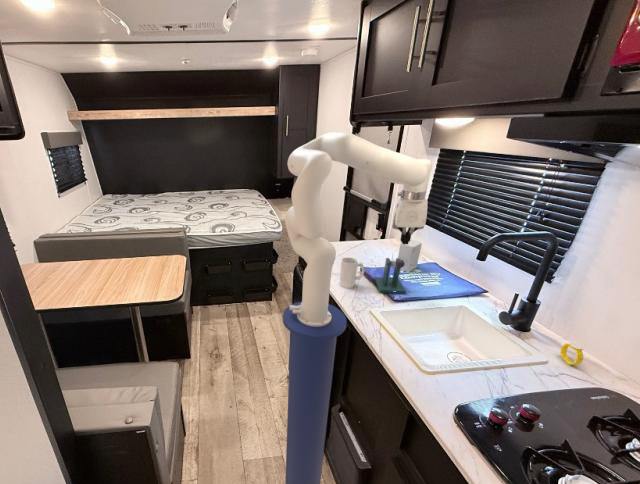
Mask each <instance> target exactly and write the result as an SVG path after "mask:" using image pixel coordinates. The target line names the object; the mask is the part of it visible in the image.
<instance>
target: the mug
mask: <svg viewBox="0 0 640 484" xmlns="http://www.w3.org/2000/svg"><path fill="white" fill-rule="evenodd" d="M358 268H361V272H360V274H359V275H357V270H358ZM339 274H340V275H339V286H341V287H342V288H345V289H352V288H354V287H355V282H356V281H358V280H359V281H360V280H361V279H362V278H363V275H364V274H365V266H364V262H359V260H358V259H357V258H355V257H349V256H348V257H342V258H341V263H340V273H339Z"/></svg>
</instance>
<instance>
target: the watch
mask: <svg viewBox="0 0 640 484" xmlns="http://www.w3.org/2000/svg"><path fill="white" fill-rule="evenodd" d="M568 348H570V349H572V350H574V351H575V353H576V359H575V361H574V362H572V360H571V359H570V358H569V357H568V354H567V353H568ZM583 350H584V347H583V346H582V345H581V344H579V343H576V342H570V343H564V344H563V345H562V346H561V348H560V356H561V358H562V359H563V360H564V361H565V362H566V363H567V365H570V366H579V365H580V364H582V362H583V361H584V353H583Z"/></svg>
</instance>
